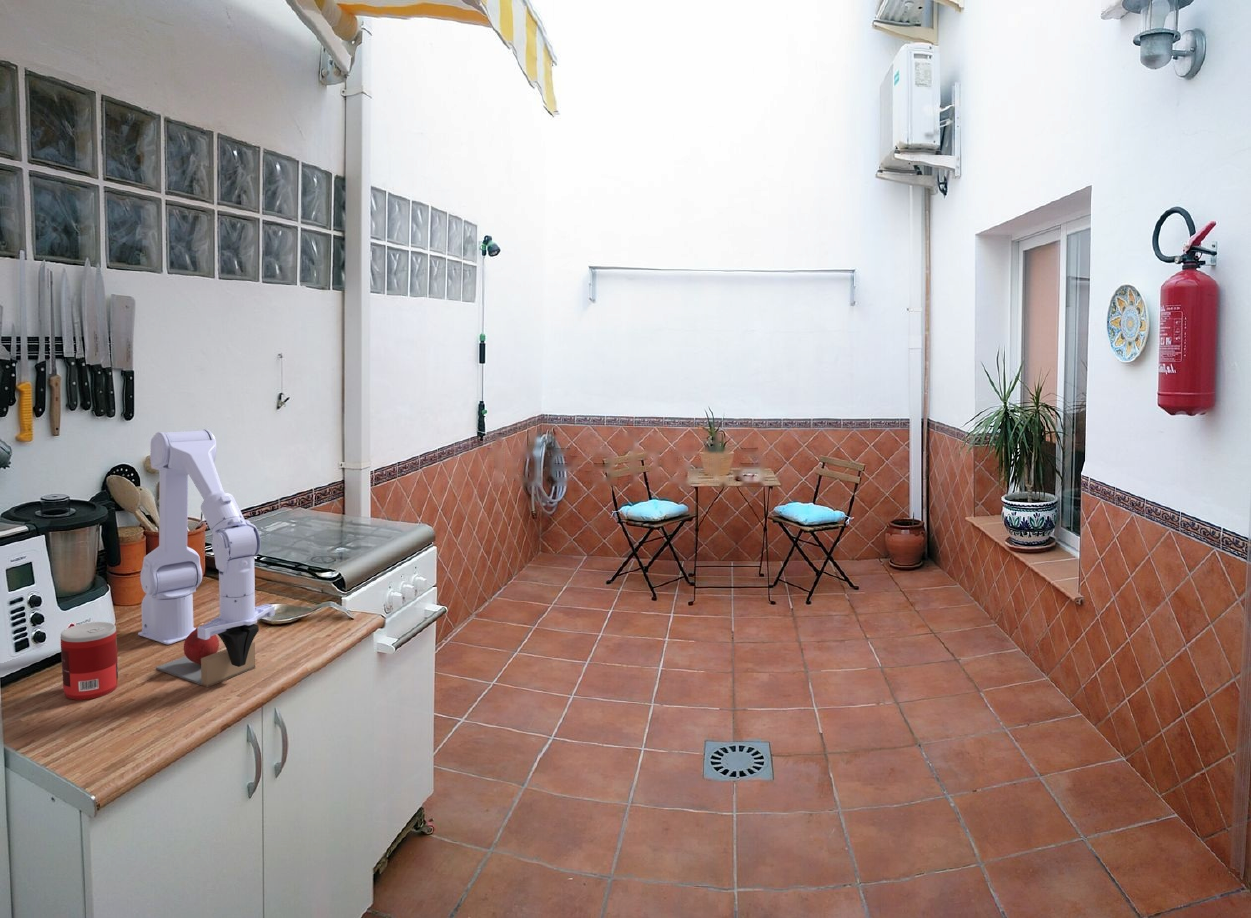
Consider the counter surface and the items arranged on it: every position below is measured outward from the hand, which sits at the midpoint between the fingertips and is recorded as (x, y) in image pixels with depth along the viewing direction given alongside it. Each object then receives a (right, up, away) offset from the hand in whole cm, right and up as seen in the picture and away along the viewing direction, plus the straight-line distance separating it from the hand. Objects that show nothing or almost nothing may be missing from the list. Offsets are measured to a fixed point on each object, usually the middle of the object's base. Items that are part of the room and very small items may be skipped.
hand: (238, 664), depth 146 cm
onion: (-9, -1, +5) cm, 10 cm away
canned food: (-22, -3, -7) cm, 23 cm away
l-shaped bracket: (-8, -2, +4) cm, 9 cm away
